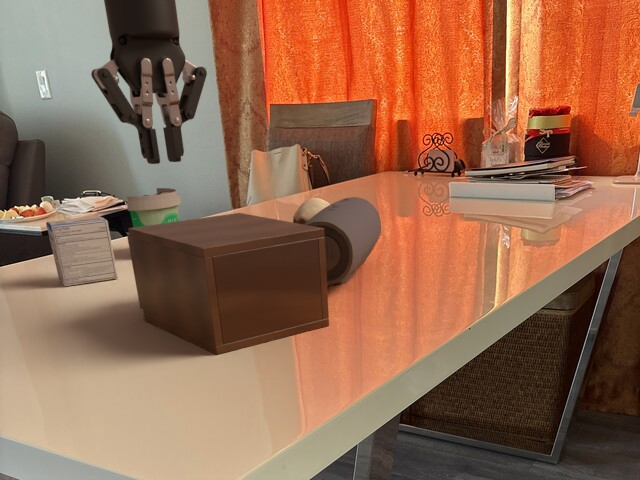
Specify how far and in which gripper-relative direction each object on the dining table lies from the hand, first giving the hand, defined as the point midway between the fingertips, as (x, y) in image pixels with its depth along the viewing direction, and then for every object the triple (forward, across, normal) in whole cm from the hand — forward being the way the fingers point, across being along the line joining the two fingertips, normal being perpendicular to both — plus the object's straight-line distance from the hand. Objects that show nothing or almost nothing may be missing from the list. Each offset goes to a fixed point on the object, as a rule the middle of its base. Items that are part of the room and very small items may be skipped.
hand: (164, 161), depth 85 cm
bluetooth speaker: (+17, -24, +3) cm, 30 cm away
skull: (+17, -37, -20) cm, 46 cm away
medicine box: (+17, +4, -23) cm, 29 cm away
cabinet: (+17, 0, +13) cm, 21 cm away
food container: (+17, -14, -33) cm, 40 cm away
